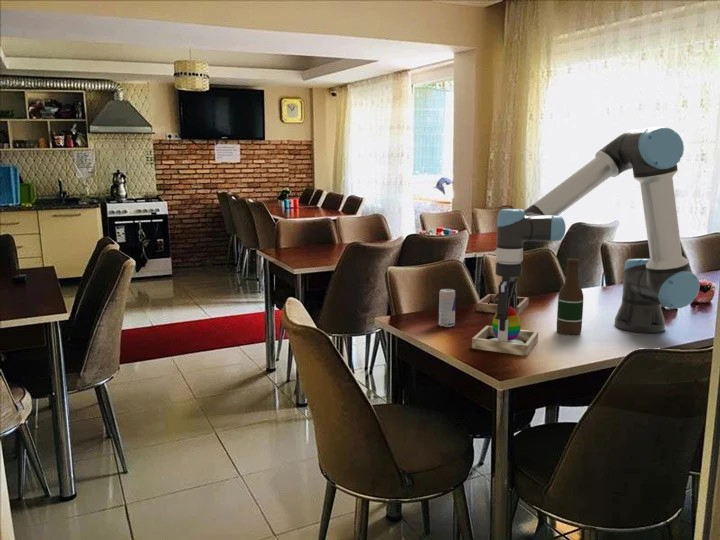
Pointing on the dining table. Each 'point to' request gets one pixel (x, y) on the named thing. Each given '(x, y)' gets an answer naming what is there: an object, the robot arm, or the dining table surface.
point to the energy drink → (447, 307)
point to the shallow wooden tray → (505, 347)
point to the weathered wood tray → (486, 307)
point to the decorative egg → (509, 324)
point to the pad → (510, 341)
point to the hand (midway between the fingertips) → (506, 337)
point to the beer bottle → (570, 302)
